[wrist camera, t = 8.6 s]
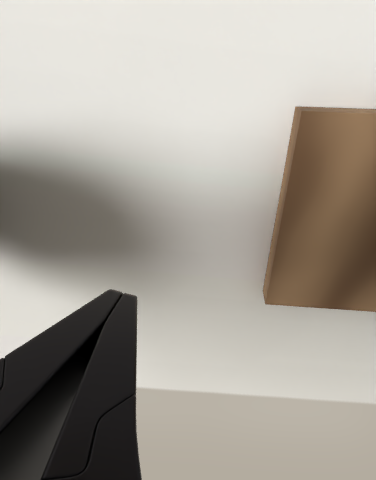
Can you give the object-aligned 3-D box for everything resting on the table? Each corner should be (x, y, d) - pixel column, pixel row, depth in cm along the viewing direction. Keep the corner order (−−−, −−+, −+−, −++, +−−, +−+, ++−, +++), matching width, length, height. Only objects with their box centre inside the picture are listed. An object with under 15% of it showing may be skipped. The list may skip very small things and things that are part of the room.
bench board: (262, 290, 25) (265, 304, 23) (295, 106, 18) (301, 110, 17) (413, 300, 24) (424, 315, 23) (504, 113, 17) (527, 118, 16)
